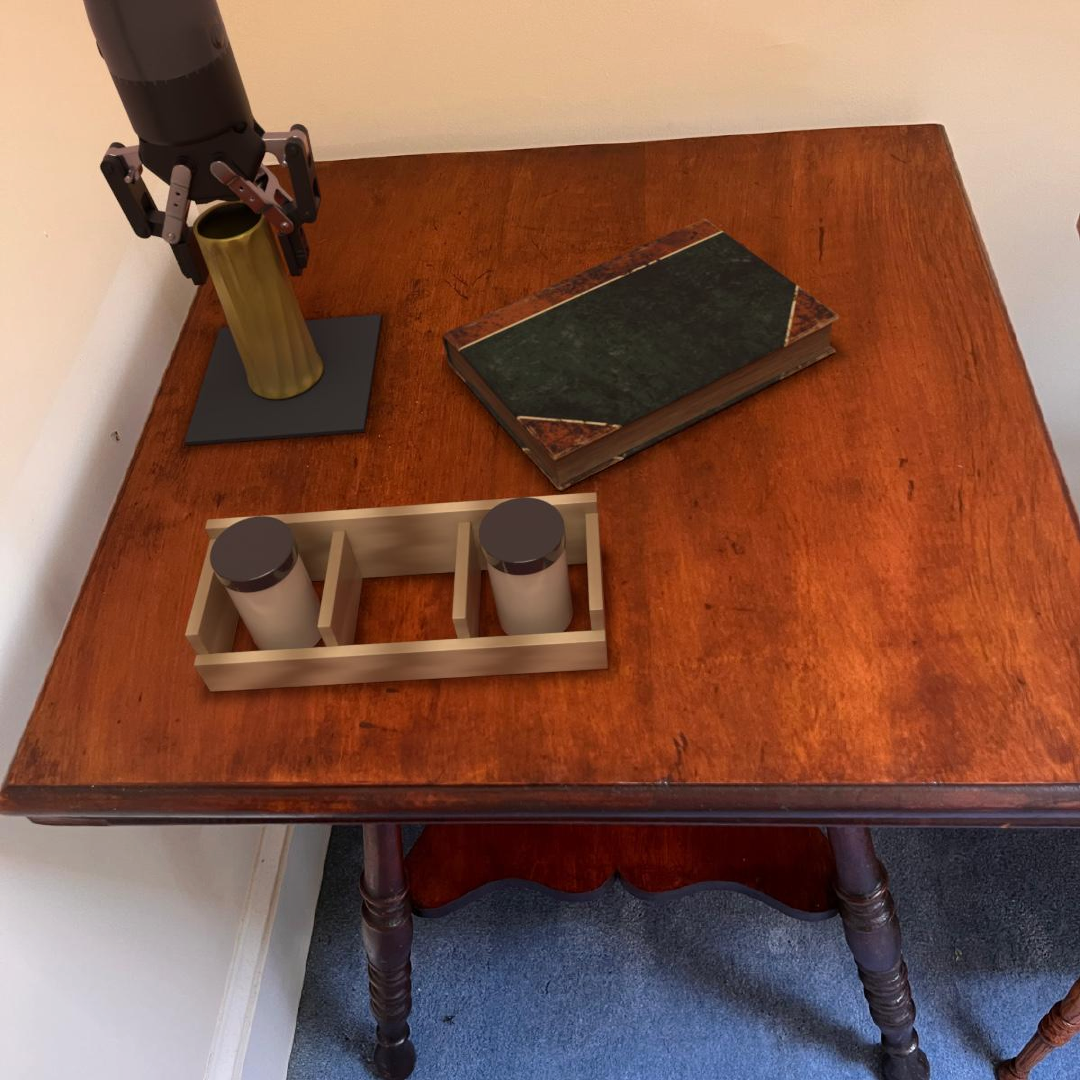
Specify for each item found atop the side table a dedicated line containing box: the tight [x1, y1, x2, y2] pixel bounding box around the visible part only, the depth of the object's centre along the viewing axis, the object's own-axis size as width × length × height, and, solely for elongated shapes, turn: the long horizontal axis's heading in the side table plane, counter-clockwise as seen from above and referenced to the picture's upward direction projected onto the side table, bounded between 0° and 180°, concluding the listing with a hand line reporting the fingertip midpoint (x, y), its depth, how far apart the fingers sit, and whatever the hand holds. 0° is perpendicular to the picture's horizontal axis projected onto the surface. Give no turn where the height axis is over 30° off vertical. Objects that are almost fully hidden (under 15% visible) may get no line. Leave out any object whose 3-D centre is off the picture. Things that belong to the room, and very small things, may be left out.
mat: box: [184, 313, 383, 446], centre depth 83 cm, size 14×14×1 cm
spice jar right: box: [479, 496, 574, 636], centre depth 63 cm, size 5×5×8 cm
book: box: [441, 218, 840, 492], centre depth 80 cm, size 17×4×25 cm
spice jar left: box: [210, 515, 323, 651], centre depth 64 cm, size 5×5×8 cm
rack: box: [184, 491, 609, 692], centre depth 64 cm, size 25×9×6 cm, turn 90°
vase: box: [192, 199, 323, 400], centre depth 78 cm, size 6×6×14 cm
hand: (250, 274), depth 76 cm, fingers open, 6 cm apart
